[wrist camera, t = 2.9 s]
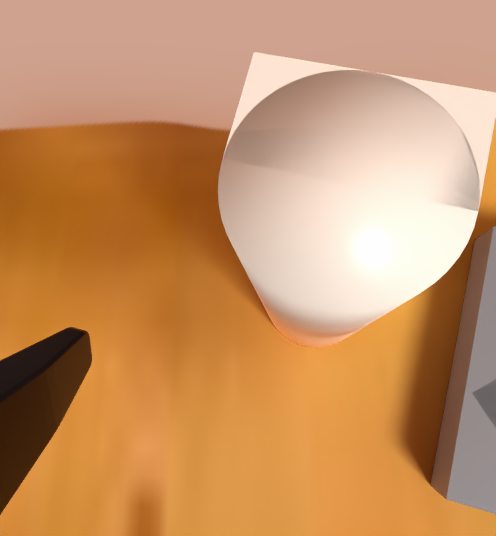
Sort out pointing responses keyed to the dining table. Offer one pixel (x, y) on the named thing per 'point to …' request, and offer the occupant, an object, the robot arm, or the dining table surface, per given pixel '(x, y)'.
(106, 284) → the dining table surface
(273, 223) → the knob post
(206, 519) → the dining table surface
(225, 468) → the dining table surface
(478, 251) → the key plate
